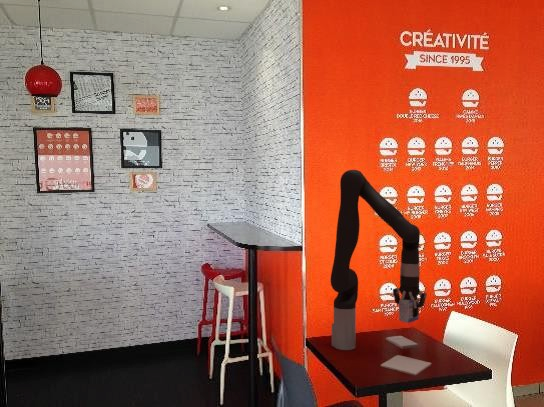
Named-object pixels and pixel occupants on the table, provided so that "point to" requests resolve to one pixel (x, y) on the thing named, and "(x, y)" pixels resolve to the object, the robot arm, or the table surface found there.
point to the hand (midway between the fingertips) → (408, 315)
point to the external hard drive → (402, 342)
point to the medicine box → (406, 311)
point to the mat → (406, 365)
